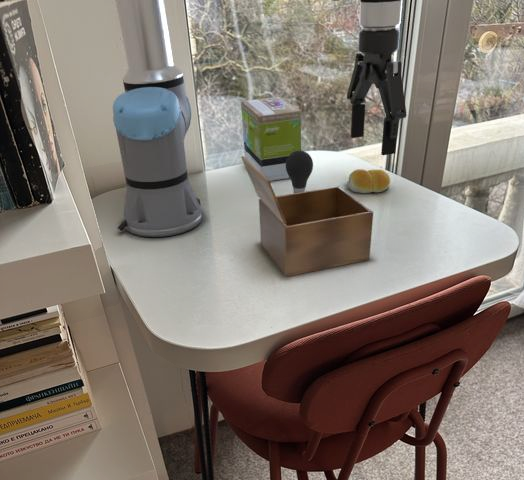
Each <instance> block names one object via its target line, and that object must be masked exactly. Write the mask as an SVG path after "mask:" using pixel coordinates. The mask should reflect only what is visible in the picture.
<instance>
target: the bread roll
mask: <svg viewBox="0 0 524 480" xmlns="http://www.w3.org/2000/svg"><path fill="white" fill-rule="evenodd" d="M346 183H347V187H348V189H349V190H351V191H352V192H354V193H359V194H368V193H372V192H373V193H382V192H384V191H386V190H387V189H388V188H389V187H390V185H391V179H390V176H389V174H388V173H387V172H386V171H385V170H383V169H369V170H366V169H364V168H363V169H362V168H361V169H359V168H358V169H355V170H353V171H351V173H349V176H348V180H347V182H346Z"/></svg>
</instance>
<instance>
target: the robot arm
mask: <svg viewBox="0 0 524 480" xmlns="http://www.w3.org/2000/svg"><path fill="white" fill-rule="evenodd" d="M332 1H333V2H337V1H339V0H332ZM115 6H116V11H117V16H118V20H119V26H120V31H121V36H122V42H123V46H124V51H125V57H126V62H127V71H126V73H125V75H124V76H123V77H122V83H123V87H124V88H123V89H124V92H122V93H121V94H119V95H118V96H116V98H115V99H114V101H113V104H112V114H113V116H112V121H113V124H114V127H115V132H116V137H117V142H118V148H119V152H120V159H121V162H122V168H123V174H124V178H125V183H126V192H125V200H124V207H123V213H122V214H123V215H122V217H123V219H122V220H123V221H122V222H121V223H120V225H119V226H118V227H117V229H118V230H119V231H120V232H123V231H124V229H125V230H126V231H127V232H129V233H131V234H132V235H135V236H139V237H145V238H163V237H171V236H176V235H180V234H184V233H186V232H188V231H190V230H193V229H195V228H196V227H197V226H198V225H199V224H201V222H202V220H203V216H202V215H203V213H202V208H201V199H199V198H198V197H197V196H196V194H195V192H194V189H193V188H192V185H191V184H190V182H189V177H188V167H187V159H186V157H187V156H186V150H185V138H186V135H187V133H188V131H189V128H190V126H191V121H192V108H191V103H190V101H189V98H188V96H187V92H186V87H185V79H184V73H183V71H182V70H181V69H180V68H179V67H177V66H176V65H175V63H174V58H173V51H172V45H171V38H170V32H169V31H170V30H169V24H168V17H167V11H166V5H165V0H115ZM402 10H403V0H360V1H359V22H358V26H359V27H360V28H361V29H360V30H359V31H358V44H357V45H358V46H357V47H358V48H357V49H358V52H356V54H355V58H354V67H353V70H352V74H351V78H350V82H349V85H348V89H347V94H346V99H347V100H348V101H350V105H351V122H350V123H351V124H350V126H351V127H350V138H351V139H356V138H363V137H364V136H365V118H366V117H365V116H366V104H365V103H367V101H366V97H367V95H368V93H369V92H370V89H371V88H372V85H374V87H375V88H376V89H378V91H379V95H380V99H381V102H382V106H383V109H384V114H385V117H384V118H383V126H382V138H381V139H382V140H381V153H380V155H382V156H388V155H393V154H396V150H397V149H396V148H397V138H398V131H399V130H398V129H399V121H400V120H401V119H406V118H407V107H406V100H405V92H404V86H403V78H402V77H403V76H402V60H396V61H393V56H392V55H393V54H394V53H395V52H398V50H399V49H400V48H399V46H400V38H401V37H400V36H401V30H400V28H399V27H398V26H400V24H401V20H402Z"/></svg>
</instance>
